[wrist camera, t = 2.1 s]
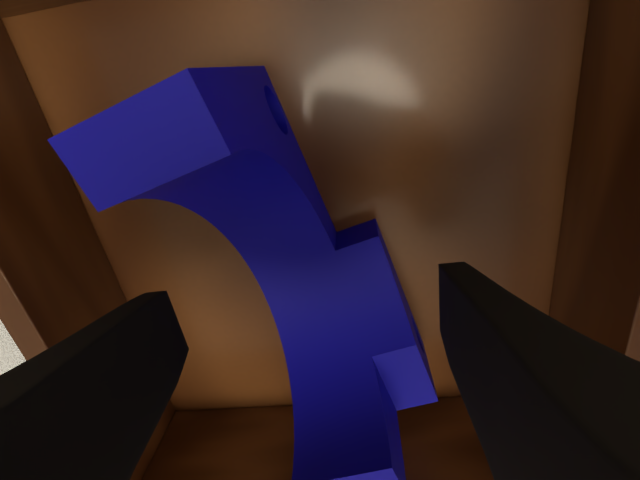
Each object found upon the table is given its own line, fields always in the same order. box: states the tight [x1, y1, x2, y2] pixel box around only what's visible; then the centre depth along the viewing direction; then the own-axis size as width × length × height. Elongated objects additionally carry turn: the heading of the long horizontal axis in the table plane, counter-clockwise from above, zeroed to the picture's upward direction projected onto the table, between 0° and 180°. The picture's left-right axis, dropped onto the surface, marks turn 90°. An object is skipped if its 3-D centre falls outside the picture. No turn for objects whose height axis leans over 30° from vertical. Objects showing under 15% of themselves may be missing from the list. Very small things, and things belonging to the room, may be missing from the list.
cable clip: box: [47, 66, 438, 480], centre depth 11 cm, size 12×4×6 cm, turn 23°
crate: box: [0, 0, 640, 480], centre depth 12 cm, size 19×19×5 cm
